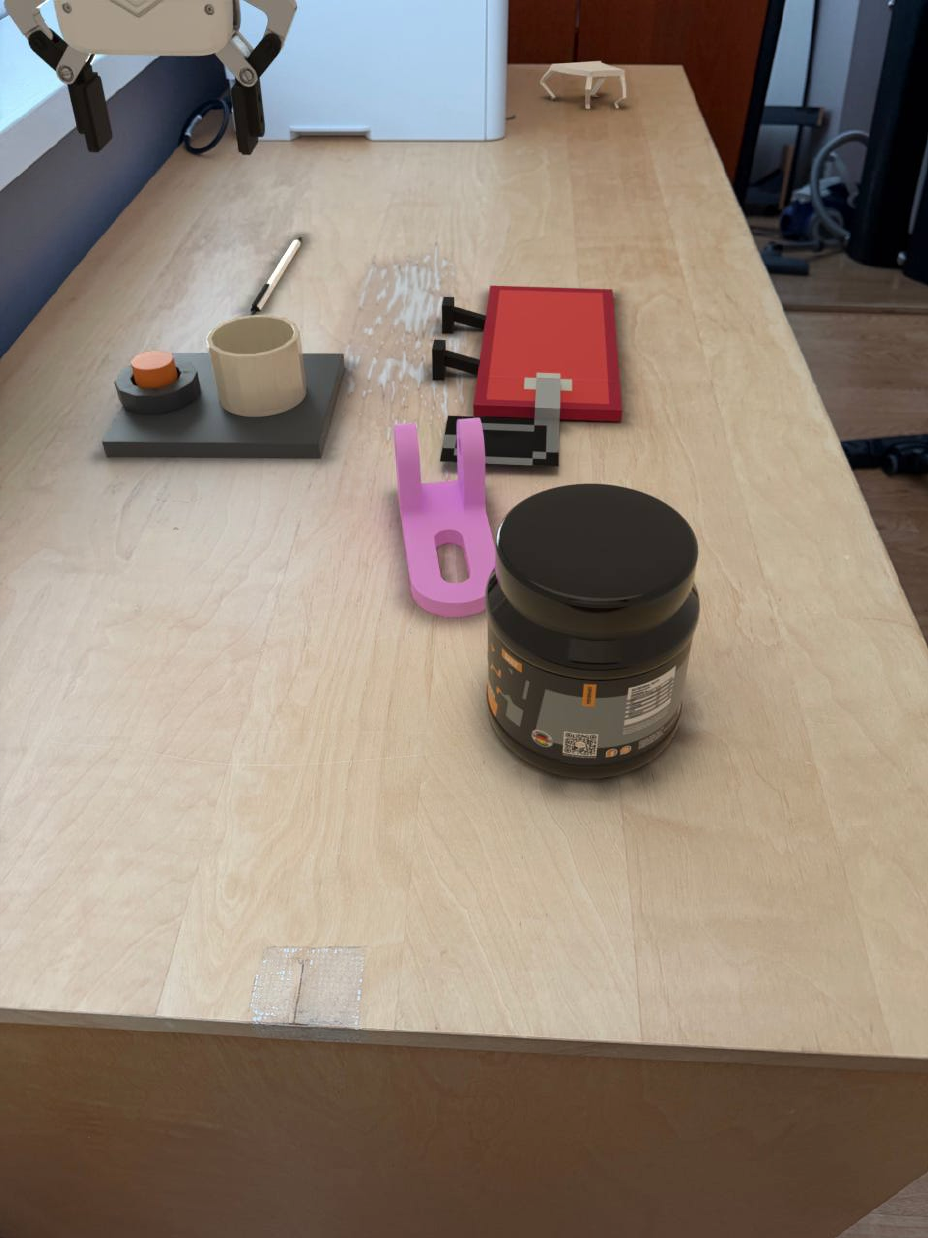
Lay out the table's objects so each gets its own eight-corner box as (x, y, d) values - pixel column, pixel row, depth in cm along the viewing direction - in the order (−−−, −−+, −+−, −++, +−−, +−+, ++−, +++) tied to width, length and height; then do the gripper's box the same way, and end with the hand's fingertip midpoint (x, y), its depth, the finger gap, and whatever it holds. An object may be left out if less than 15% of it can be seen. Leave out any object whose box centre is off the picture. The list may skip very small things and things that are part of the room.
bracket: (398, 502, 72) (392, 413, 68) (478, 495, 73) (477, 406, 68) (415, 624, 62) (409, 531, 58) (507, 616, 63) (508, 522, 58)
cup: (209, 416, 78) (197, 355, 75) (228, 373, 83) (217, 314, 80) (299, 417, 78) (290, 356, 75) (312, 373, 83) (305, 314, 80)
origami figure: (625, 96, 146) (628, 57, 143) (625, 113, 140) (628, 73, 137) (540, 94, 147) (541, 56, 144) (536, 112, 141) (537, 72, 138)
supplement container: (522, 631, 62) (526, 459, 54) (698, 674, 59) (729, 498, 51) (456, 756, 55) (450, 579, 47) (653, 813, 52) (683, 633, 44)
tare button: (130, 390, 79) (125, 369, 78) (142, 370, 82) (137, 349, 80) (172, 390, 79) (167, 369, 78) (182, 370, 81) (178, 349, 80)
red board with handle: (413, 471, 74) (624, 480, 74) (412, 437, 73) (628, 446, 72) (449, 298, 97) (611, 303, 96) (449, 269, 95) (613, 274, 94)
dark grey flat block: (99, 460, 77) (88, 422, 75) (150, 369, 88) (141, 334, 85) (321, 461, 76) (316, 423, 74) (345, 370, 87) (341, 334, 85)
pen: (247, 321, 94) (245, 310, 94) (297, 241, 109) (295, 230, 108) (256, 322, 94) (254, 310, 94) (305, 241, 109) (304, 230, 108)
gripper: (-70, -184, 53) (22, 164, 65) (265, -181, 53) (299, 168, 64) (-14, -194, 59) (61, 127, 70) (289, -191, 59) (316, 131, 70)
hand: (175, 147), depth 67 cm, fingers open, 9 cm apart
